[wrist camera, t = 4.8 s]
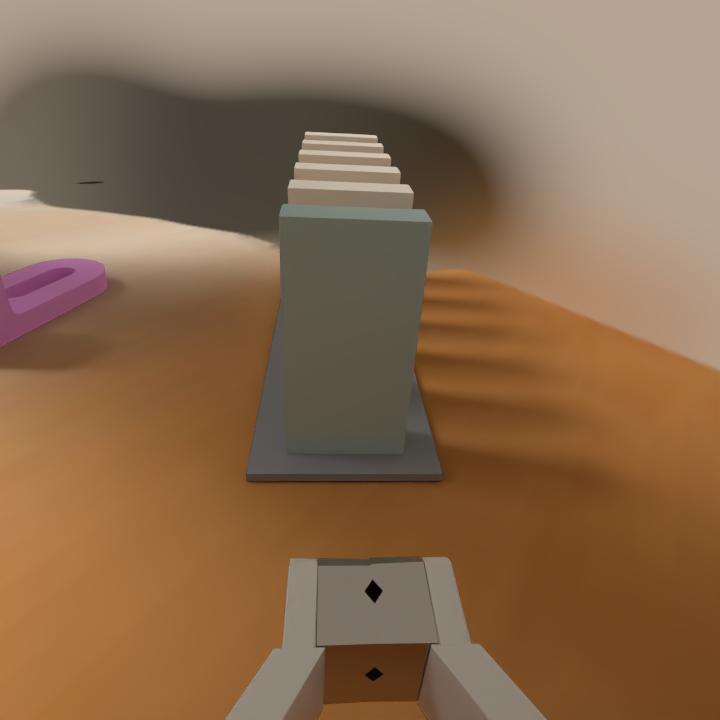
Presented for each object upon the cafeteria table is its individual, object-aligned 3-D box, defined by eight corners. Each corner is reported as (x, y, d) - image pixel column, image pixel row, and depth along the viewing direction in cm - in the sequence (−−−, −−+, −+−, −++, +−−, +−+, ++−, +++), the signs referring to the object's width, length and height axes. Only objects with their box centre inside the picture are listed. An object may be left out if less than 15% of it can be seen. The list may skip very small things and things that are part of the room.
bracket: (-38, 369, 26) (-92, 240, 23) (-119, 351, 27) (-184, 224, 24) (125, 283, 37) (105, 186, 33) (62, 272, 38) (36, 177, 35)
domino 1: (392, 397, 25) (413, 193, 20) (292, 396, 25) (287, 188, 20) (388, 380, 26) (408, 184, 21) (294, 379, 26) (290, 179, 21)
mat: (441, 480, 21) (442, 473, 20) (246, 481, 20) (246, 473, 20) (383, 268, 42) (384, 263, 42) (288, 265, 41) (288, 260, 41)
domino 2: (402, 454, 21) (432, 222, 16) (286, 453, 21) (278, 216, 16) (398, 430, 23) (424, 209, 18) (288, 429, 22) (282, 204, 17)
